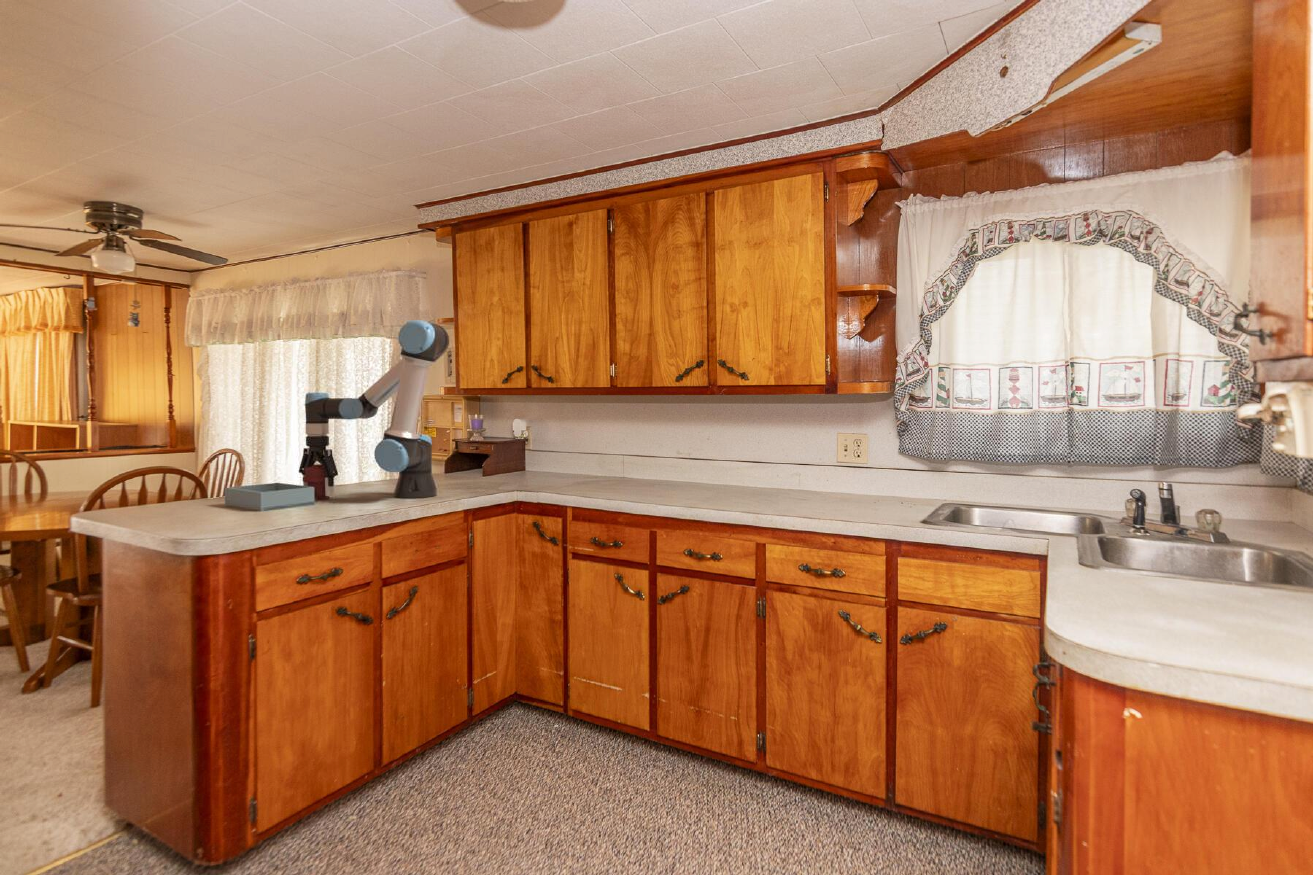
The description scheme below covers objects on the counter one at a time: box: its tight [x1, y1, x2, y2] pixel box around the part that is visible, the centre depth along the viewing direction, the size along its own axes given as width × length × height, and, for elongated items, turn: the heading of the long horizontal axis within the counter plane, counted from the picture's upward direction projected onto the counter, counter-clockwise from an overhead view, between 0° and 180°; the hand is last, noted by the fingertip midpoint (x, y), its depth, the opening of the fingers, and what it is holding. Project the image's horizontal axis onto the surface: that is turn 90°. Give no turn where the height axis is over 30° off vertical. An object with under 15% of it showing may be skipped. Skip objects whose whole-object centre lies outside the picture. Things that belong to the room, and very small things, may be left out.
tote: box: [224, 482, 316, 512], centre depth 232 cm, size 22×18×6 cm
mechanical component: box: [302, 463, 330, 501], centre depth 247 cm, size 12×10×10 cm
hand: (318, 494), depth 248 cm, fingers open, 13 cm apart
